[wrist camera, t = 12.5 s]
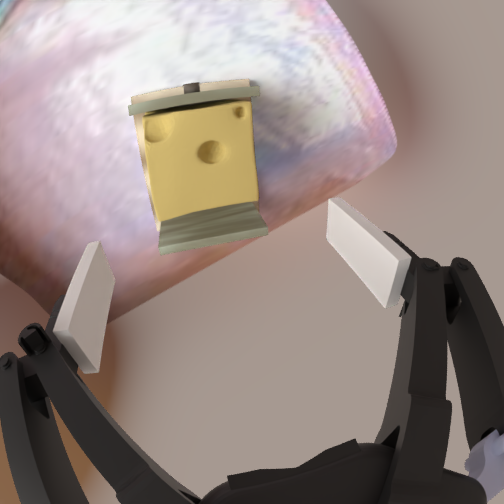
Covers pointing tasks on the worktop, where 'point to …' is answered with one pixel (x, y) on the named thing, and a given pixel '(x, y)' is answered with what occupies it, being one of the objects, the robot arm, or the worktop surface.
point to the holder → (210, 220)
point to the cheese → (200, 157)
